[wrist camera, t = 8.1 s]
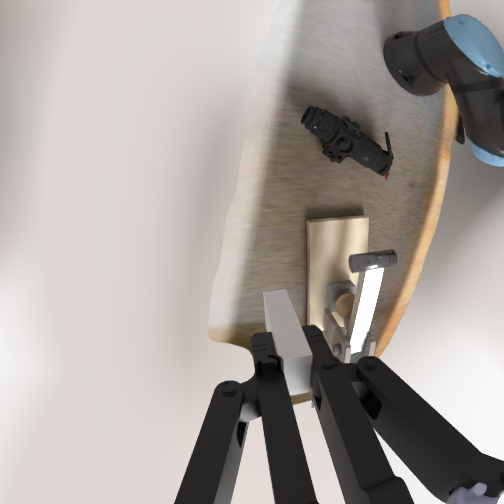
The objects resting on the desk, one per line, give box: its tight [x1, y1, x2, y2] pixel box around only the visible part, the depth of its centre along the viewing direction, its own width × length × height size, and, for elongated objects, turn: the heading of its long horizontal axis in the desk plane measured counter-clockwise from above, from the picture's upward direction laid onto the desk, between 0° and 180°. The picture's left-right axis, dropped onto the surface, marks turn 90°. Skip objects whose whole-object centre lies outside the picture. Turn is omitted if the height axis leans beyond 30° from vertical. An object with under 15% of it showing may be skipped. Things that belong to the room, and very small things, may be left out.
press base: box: [306, 215, 376, 363], centre depth 47 cm, size 12×24×15 cm, turn 5°
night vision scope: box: [301, 106, 394, 179], centre depth 42 cm, size 8×18×10 cm
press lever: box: [346, 249, 397, 353], centre depth 42 cm, size 7×21×3 cm, turn 5°
